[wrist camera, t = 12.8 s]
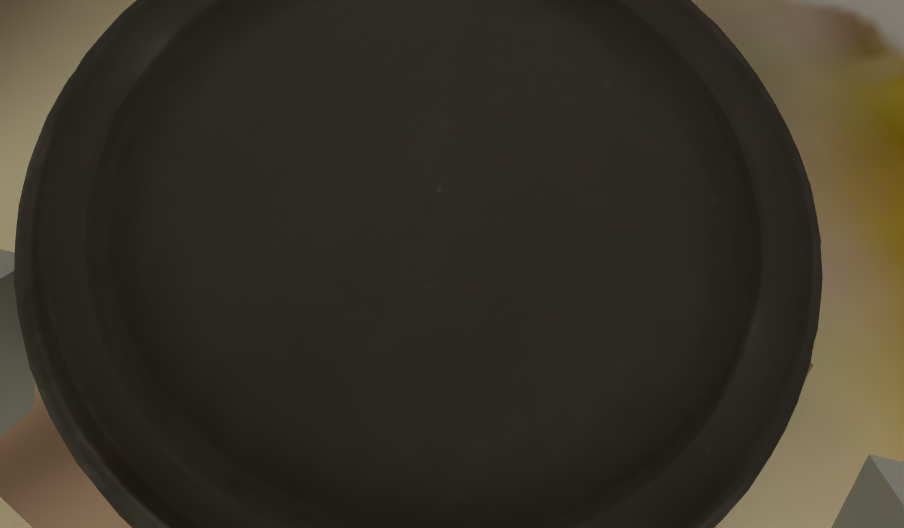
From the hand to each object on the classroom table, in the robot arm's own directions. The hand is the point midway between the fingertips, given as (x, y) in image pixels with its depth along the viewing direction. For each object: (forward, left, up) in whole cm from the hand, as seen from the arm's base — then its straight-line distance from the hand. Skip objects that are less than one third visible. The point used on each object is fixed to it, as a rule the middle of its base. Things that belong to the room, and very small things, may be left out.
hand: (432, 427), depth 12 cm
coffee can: (-2, +2, -11) cm, 11 cm away
